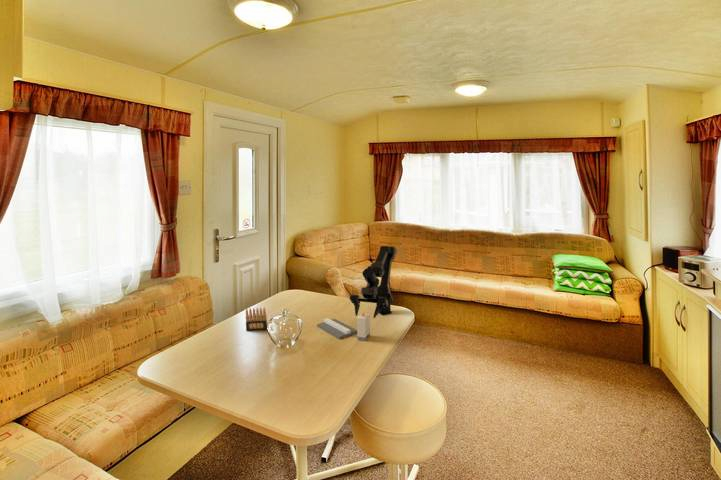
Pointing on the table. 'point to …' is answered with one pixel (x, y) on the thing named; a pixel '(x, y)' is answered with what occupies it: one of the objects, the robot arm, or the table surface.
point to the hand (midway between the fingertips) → (364, 316)
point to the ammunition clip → (256, 320)
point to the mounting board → (336, 328)
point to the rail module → (363, 326)
